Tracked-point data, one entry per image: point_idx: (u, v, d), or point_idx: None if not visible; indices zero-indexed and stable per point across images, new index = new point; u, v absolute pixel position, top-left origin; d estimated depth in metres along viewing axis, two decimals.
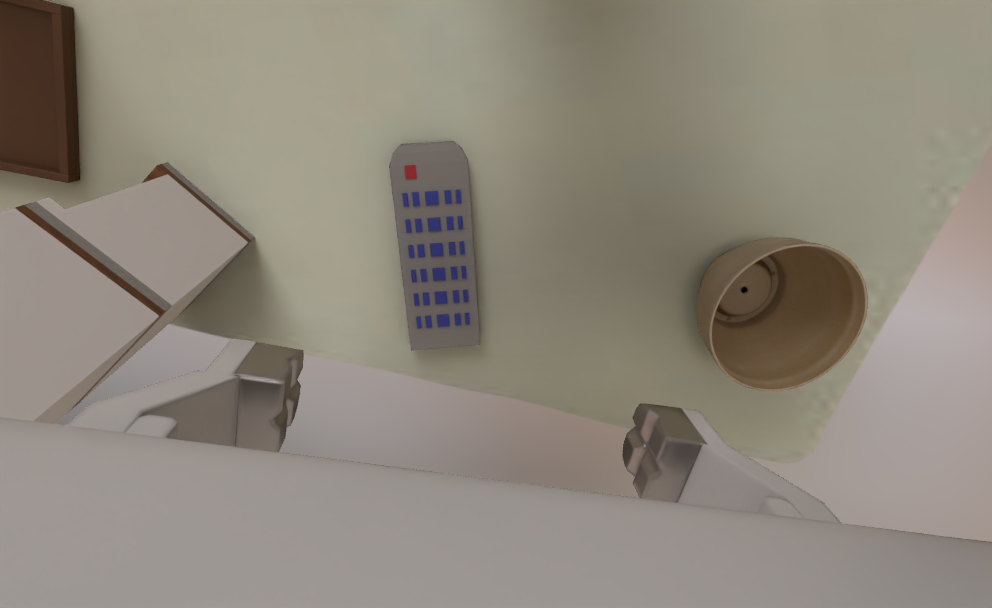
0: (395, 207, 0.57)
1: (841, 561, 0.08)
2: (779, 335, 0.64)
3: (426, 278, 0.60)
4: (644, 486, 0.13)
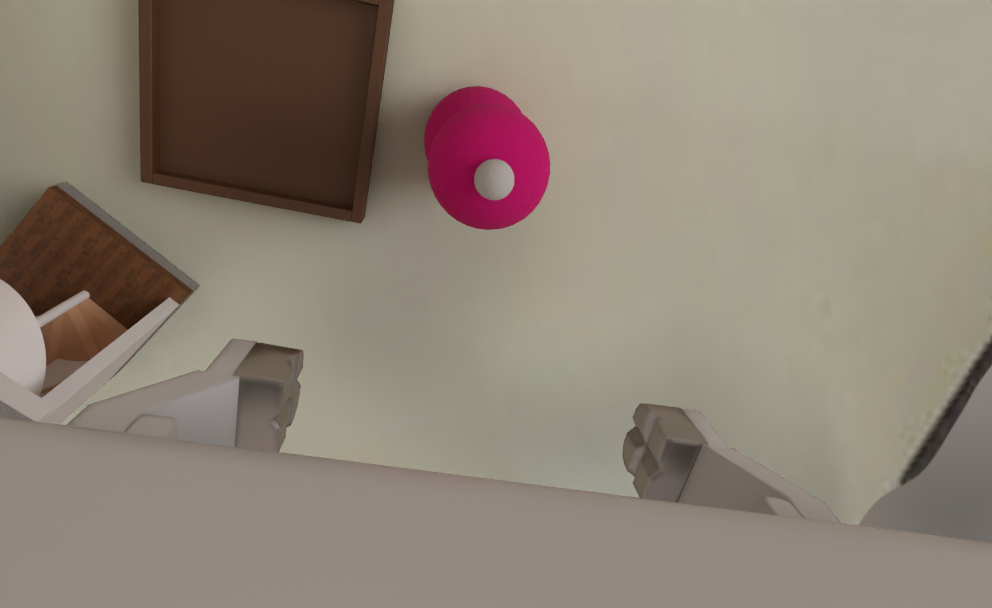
0: None
1: (841, 561, 0.08)
2: None
3: None
4: (645, 486, 0.13)
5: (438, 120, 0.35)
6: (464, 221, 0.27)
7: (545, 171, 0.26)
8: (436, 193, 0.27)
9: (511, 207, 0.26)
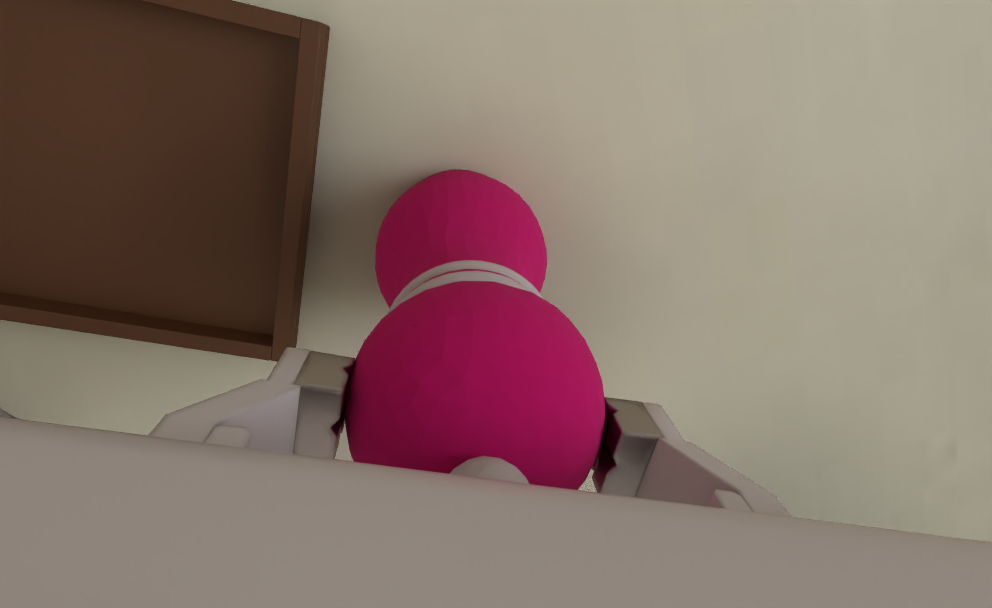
0: None
1: (841, 561, 0.08)
2: None
3: None
4: (602, 481, 0.12)
5: (394, 237, 0.21)
6: None
7: (598, 438, 0.12)
8: None
9: None
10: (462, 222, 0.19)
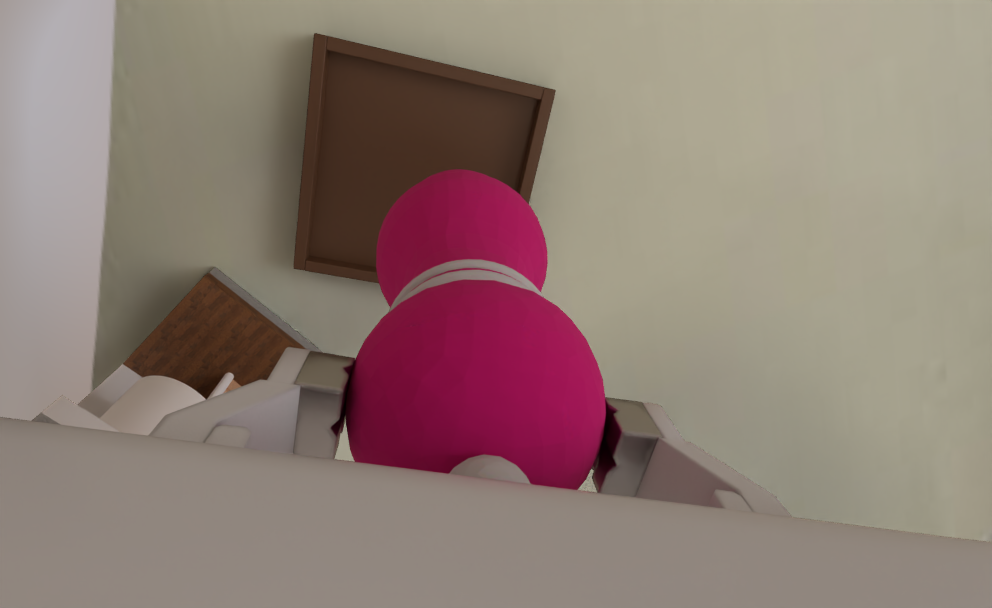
0: None
1: (841, 561, 0.08)
2: None
3: None
4: (602, 480, 0.12)
5: (395, 236, 0.21)
6: None
7: (599, 436, 0.12)
8: None
9: None
10: (462, 222, 0.19)
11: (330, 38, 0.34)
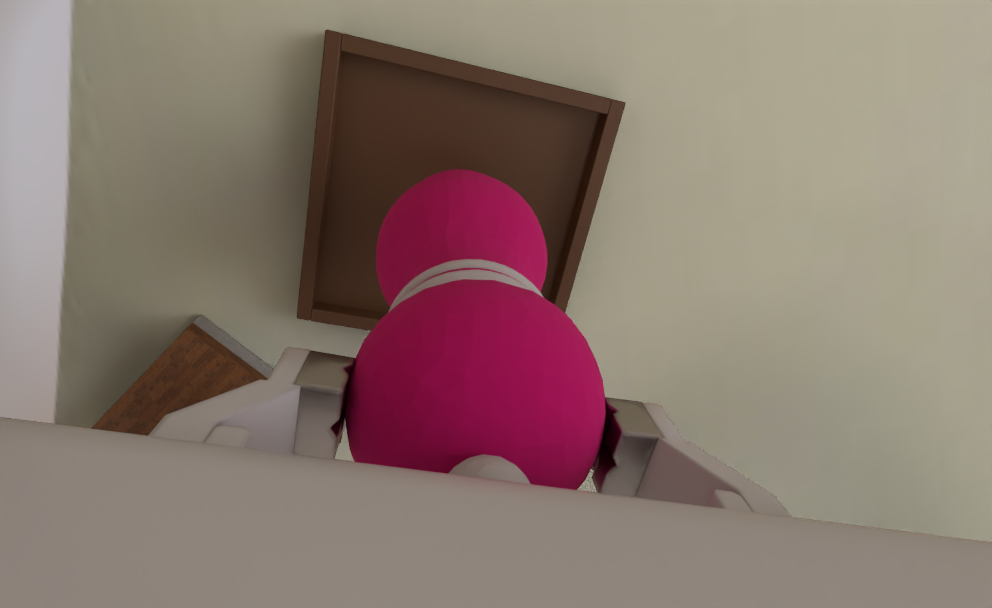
0: None
1: (841, 561, 0.08)
2: None
3: None
4: (602, 481, 0.12)
5: (395, 236, 0.21)
6: None
7: (599, 437, 0.12)
8: None
9: None
10: (462, 222, 0.19)
11: (346, 36, 0.27)
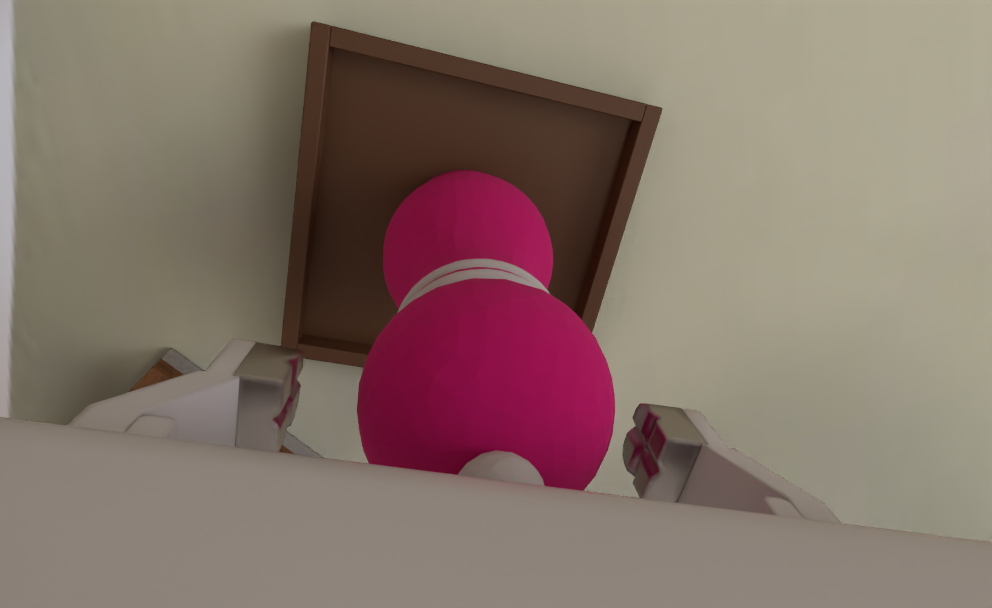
0: None
1: (841, 561, 0.08)
2: None
3: None
4: (644, 486, 0.13)
5: (403, 236, 0.21)
6: None
7: (608, 434, 0.12)
8: None
9: None
10: (470, 221, 0.20)
11: (336, 29, 0.23)
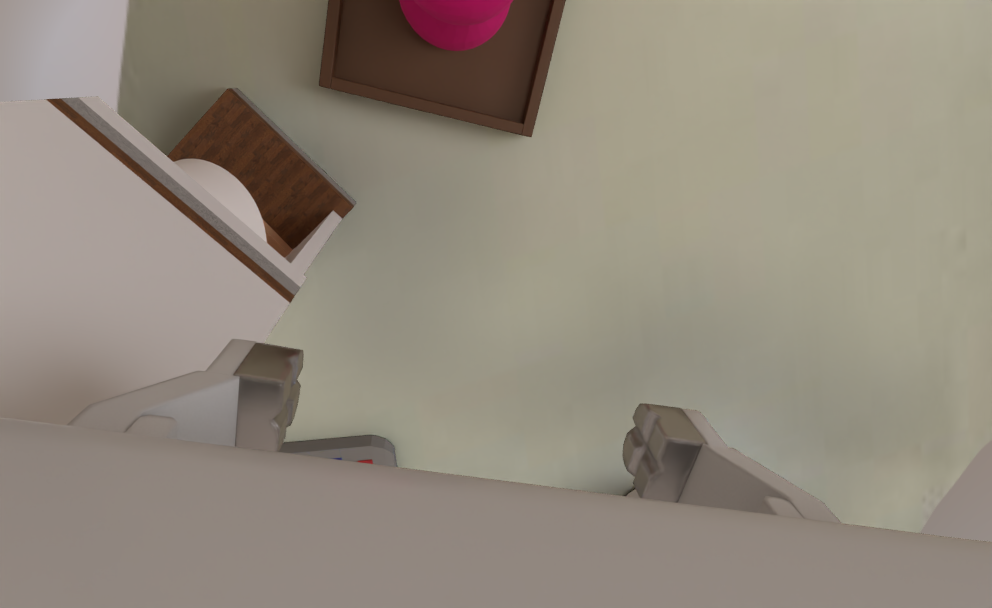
0: (324, 451, 0.50)
1: (841, 561, 0.08)
2: None
3: None
4: (644, 486, 0.13)
5: None
6: (433, 3, 0.24)
7: None
8: None
9: None
10: None
11: None
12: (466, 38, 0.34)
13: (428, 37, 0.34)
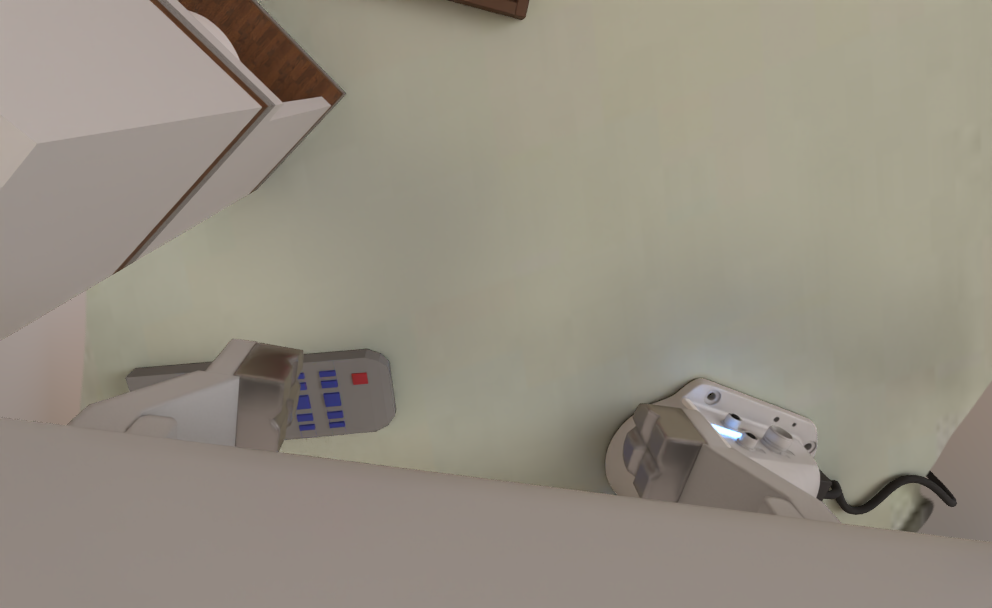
0: (317, 362, 0.49)
1: (841, 561, 0.08)
2: None
3: None
4: (645, 486, 0.13)
5: None
6: None
7: None
8: None
9: None
10: None
11: None
12: None
13: None
